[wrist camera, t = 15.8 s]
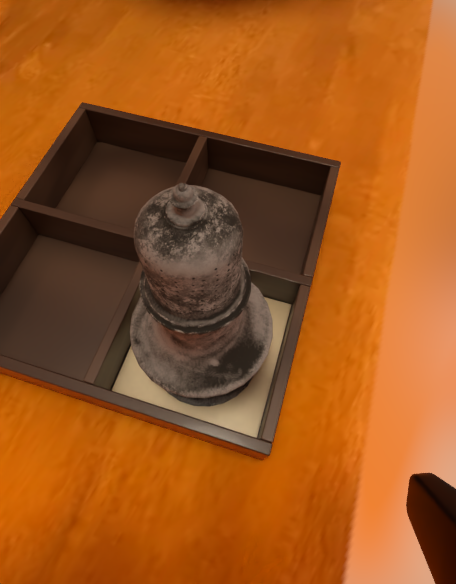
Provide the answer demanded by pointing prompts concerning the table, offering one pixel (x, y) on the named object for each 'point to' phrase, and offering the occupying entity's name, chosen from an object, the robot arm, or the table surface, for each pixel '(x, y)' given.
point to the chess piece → (196, 298)
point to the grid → (127, 268)
